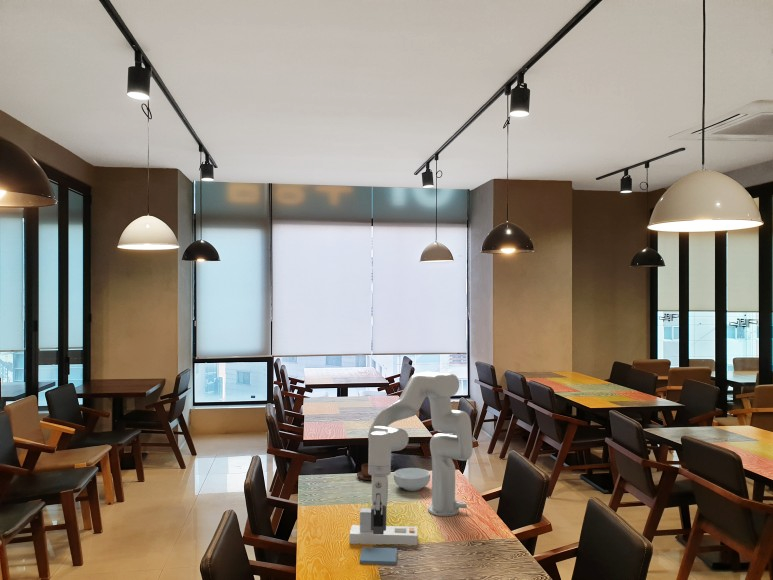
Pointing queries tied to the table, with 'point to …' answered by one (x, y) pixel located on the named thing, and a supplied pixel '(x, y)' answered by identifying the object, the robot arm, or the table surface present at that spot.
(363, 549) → the mat
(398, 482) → the cereal bowl
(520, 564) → the table surface
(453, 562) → the table surface
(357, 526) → the power strip
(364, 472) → the cup and saucer
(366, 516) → the block
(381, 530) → the block
